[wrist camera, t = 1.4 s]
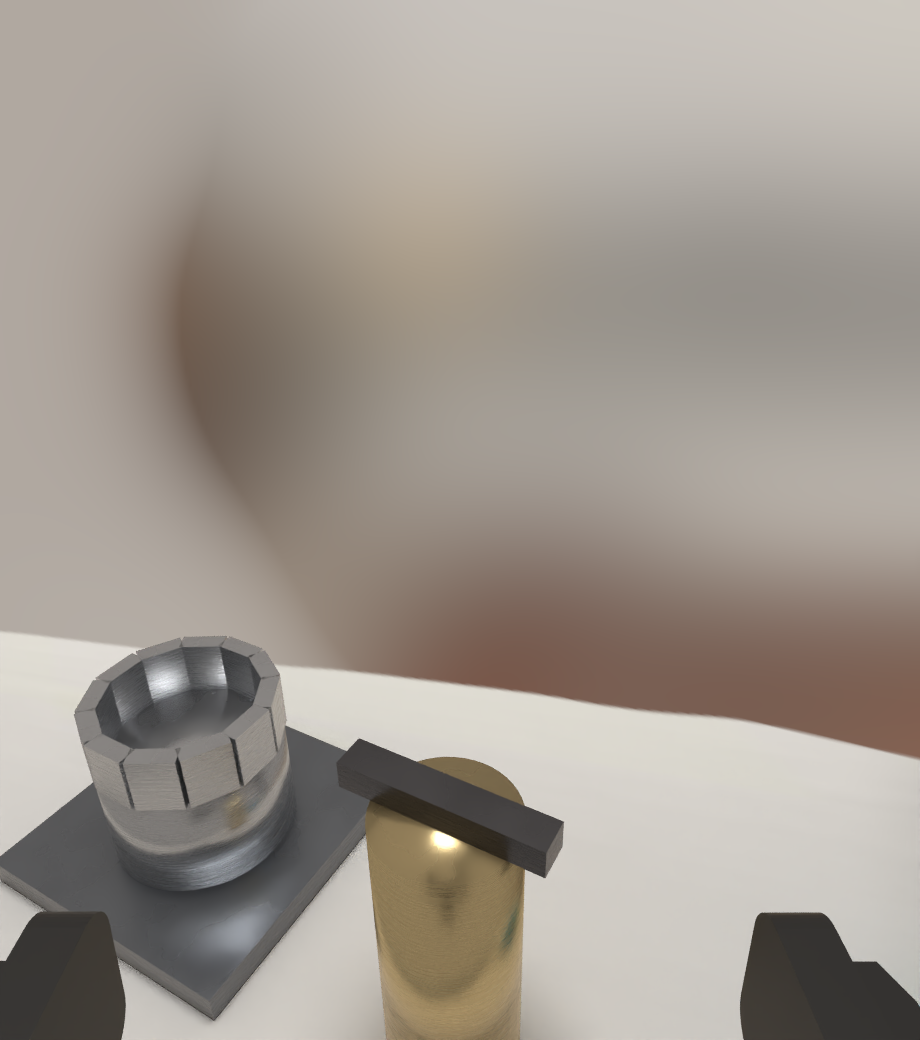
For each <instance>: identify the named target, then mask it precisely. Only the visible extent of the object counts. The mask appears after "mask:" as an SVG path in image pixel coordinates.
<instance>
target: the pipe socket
mask: <svg viewBox="0 0 920 1040" xmlns="http://www.w3.org/2000/svg"><path fill="white" fill-rule="evenodd" d="M136 654H137V655H135V654H133V653H132V654H130V655H129V656H127V657H126V658H124V659H123V660H121V661H120V662H118V663H117V664H115V665H114V666H113V667H111V668H110V669H108V670H107V671H105V672H104V673H102V674H101V675H99V676H98V677H96V680H93V681H92V683H91V685H90V686H89V688H88V690H87V691H86V693H85V695H84V696H83V698H82V700H81V701H80V703H79V705H78V706H77V708H76V710H75V714H74V716H75V720H76V724H77V728H78V732H79V736H80V740H81V744H82V747H83V750H84V753H85V757H86V760H87V763H88V766H89V769H90V773H91V776H92V779H93V783H92V784H91V785H90V786H88V787H87V788H86V789H84V790H83V791H82V792H81V793H79V794H78V795H77V796H76V797H74V798H73V799H72V800H71V801H69V802H68V803H67V804H66V805H64V806H63V807H62V808H61V809H59V810H58V811H57V812H56V813H54V814H53V815H52V816H50V817H49V818H48V819H47V820H45V821H44V822H43V823H42V824H40V825H39V826H38V827H37V828H35V829H34V830H33V831H32V832H30V833H29V834H28V835H27V836H25V837H24V838H23V839H22V840H20V841H19V842H18V843H16V844H15V845H14V846H13V847H11V848H10V849H9V850H8V851H6V852H5V853H4V854H3V855H1V856H0V879H1V881H3V882H4V883H6V884H7V885H9V886H10V887H12V888H13V889H15V890H17V891H18V892H20V893H21V894H23V895H24V896H26V897H27V898H29V899H30V900H32V901H33V902H35V903H36V904H38V905H39V906H41V907H42V908H44V909H45V910H47V911H49V912H55V911H102V912H104V913H105V914H106V915H107V917H108V919H109V923H110V927H111V932H112V937H113V941H114V946H115V951H116V956H117V957H119V958H120V959H122V960H123V961H125V962H126V963H128V964H129V965H131V966H132V967H134V968H135V969H137V970H138V971H140V972H141V973H143V974H145V975H146V976H148V977H149V978H151V979H152V980H154V981H155V982H157V983H158V984H160V985H161V986H163V987H164V988H166V989H167V990H169V991H170V992H172V993H173V994H175V995H177V996H178V997H180V998H181V999H183V1000H184V1001H186V1002H187V1003H189V1004H190V1005H192V1006H193V1007H195V1008H196V1009H198V1010H199V1011H201V1012H202V1013H204V1014H205V1015H207V1016H209V1017H210V1018H212V1019H213V1020H215V1019H216V1017H217V1016H218V1015H219V1014H220V1012H221V1011H222V1010H223V1009H224V1008H225V1006H226V1005H227V1004H228V1003H229V1001H230V1000H231V999H232V998H233V996H234V995H235V994H236V993H237V991H238V990H239V989H240V988H241V987H242V985H243V984H244V983H245V982H246V980H247V979H248V978H249V977H250V975H251V974H252V973H253V972H254V970H255V969H256V968H257V967H258V966H259V964H260V963H261V962H262V961H263V959H264V958H265V957H266V956H267V954H268V953H269V952H270V951H271V950H272V948H273V947H274V946H275V945H276V943H277V942H278V941H279V940H280V938H281V937H282V936H283V935H284V933H285V932H286V931H287V930H288V929H289V927H290V926H291V925H292V924H293V922H294V921H295V920H296V919H297V917H298V916H299V915H300V914H301V913H302V911H303V910H304V909H305V908H306V906H307V905H308V904H309V903H310V901H311V900H312V899H313V898H314V896H315V895H316V894H317V893H318V892H319V890H320V889H321V888H322V887H323V885H324V884H325V883H326V882H327V880H328V879H329V878H330V877H331V876H332V874H333V873H334V872H335V871H336V869H337V868H338V867H339V866H340V864H341V863H342V862H343V861H344V859H345V858H346V857H347V856H348V855H349V853H350V852H351V851H352V850H353V848H354V847H355V846H356V845H357V843H358V842H359V841H360V840H361V838H362V837H363V836H364V835H365V834H366V830H365V816H366V811H367V807H368V805H369V802H370V800H368V799H366V798H363V797H361V796H359V795H357V794H354V793H352V792H350V791H348V790H345V789H343V788H341V787H339V783H338V774H337V766H336V762H337V761H338V760H339V759H340V758H341V757H342V756H343V755H344V754H345V753H346V752H347V751H345V750H342V749H340V748H338V747H335V746H333V745H330V744H328V743H326V742H323V741H321V740H318V739H316V738H314V737H311V736H309V735H307V734H304V733H302V732H299V731H297V730H295V729H292V728H290V727H287V726H285V724H286V721H287V719H286V713H285V706H284V699H283V693H282V686H281V680H280V674H279V672H278V670H277V669H276V667H275V666H274V664H273V663H272V661H271V660H270V658H269V656H268V655H267V653H266V652H265V651H263V649H262V648H259V647H256V646H254V645H251V644H248V643H246V642H243V641H240V640H238V639H235V638H232V637H229V638H228V639H227V637H226V636H210V637H209V636H208V637H184V638H183V640H182V641H181V639H180V638H177V639H175V640H171V641H168V642H165V643H162V644H158V645H155V646H152V647H149V648H145V649H142V650H139V651H136Z"/></svg>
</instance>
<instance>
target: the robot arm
mask: <svg viewBox="0 0 920 1040" xmlns="http://www.w3.org/2000/svg"><path fill="white" fill-rule="evenodd" d="M125 1008H126V1003H125V993H124V989H123V984H122V979H121V974H120V970H119V965H118V960H117V956H116V951H115V946H114V941H113V937H112V932H111V927H110V923H109V919H108V917H107V915H106V914H105V913H104V912H102V911H55V912H39V913H37V914H36V915H35V916H34V917H33V918H32V919H31V920H30V921H29V922H28V924H27V925H26V927H25V929H24V930H23V932H22V934H21V936H20V937H19V939H18V941H17V942H16V944H15V946H14V948H13V949H12V951H11V953H10V954H9V956H8V958H7V960H6V961H0V1040H121V1038H122V1033H123V1028H124V1021H125ZM740 1016H741V1026H742V1033H743V1038H744V1040H920V1007H919V1005H918V1003H917V1002H916V1001H915V1000H914V999H913V998H912V997H911V996H910V995H909V994H908V993H907V992H906V991H905V990H904V989H903V988H902V987H901V986H900V985H899V984H898V983H897V982H896V981H895V980H894V979H893V978H892V977H891V976H890V975H889V974H888V973H887V972H886V971H885V970H884V969H883V968H882V967H881V966H880V965H879V964H878V963H877V962H853V961H852V960H851V958H850V956H849V954H848V952H847V950H846V948H845V946H844V944H843V942H842V940H841V938H840V936H839V934H838V933H837V931H836V929H835V927H834V925H833V923H832V922H831V921H830V919H829V918H828V917H827V916H826V915H824V914H823V913H760V914H759V915H758V916H757V918H756V921H755V925H754V930H753V935H752V941H751V946H750V951H749V956H748V961H747V966H746V972H745V977H744V982H743V987H742V992H741V999H740Z"/></svg>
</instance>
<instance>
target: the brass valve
mask: <svg viewBox="0 0 920 1040" xmlns="http://www.w3.org/2000/svg"><path fill="white" fill-rule="evenodd" d="M336 766H337V774H338V783H339V787H341V788H343V789H345V790H348V791H350V792H352V793H354V794H357V795H359V796H361V797H363V798H366V799H368V800H370V802H369V805H368V807H367V811H366V816H365V830H366V840H367V850H368V860H369V870H370V879H371V889H372V899H373V909H374V919H375V929H376V939H377V949H378V959H379V969H380V979H381V988H382V998H383V1008H384V1018H385V1028H386V1038H387V1040H520V1011H521V978H522V945H523V912H524V878H525V870H528V871H530V872H532V873H534V874H537V875H539V876H541V877H543V878H546V876H547V874H548V872H549V870H550V869H551V867H552V865H553V863H554V861H555V859H556V857H557V856H558V854H559V852H560V850H561V848H562V844H563V827H564V822H563V821H561V820H558V819H556V818H554V817H551V816H549V815H546V814H544V813H541V812H539V811H536V810H534V809H531V808H529V807H526V806H524V803H523V800H522V797H521V796H520V794H519V792H518V790H517V789H516V787H515V786H514V785H513V784H512V782H511V781H510V780H509V779H508V778H507V777H505V776H504V775H503V774H501V773H500V772H499V771H497V770H495V769H494V768H492V767H490V766H488V765H486V764H483V763H481V762H477V761H474V760H470V759H466V758H458V757H438V758H431V759H426V760H422V761H418V762H416V761H413V760H411V759H409V758H406V757H404V756H401V755H399V754H396V753H394V752H391V751H389V750H386V749H384V748H381V747H379V746H377V745H374V744H372V743H369V742H367V741H364V740H362V739H358V740H357V741H356V742H355V743H354V744H353V745H352V746H351V747H350V748H349V750H348V751H347V752H346V753H345V754H344V755H343V756H342V757H341V758H340V759H339V760H338V761H337V762H336Z"/></svg>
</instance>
